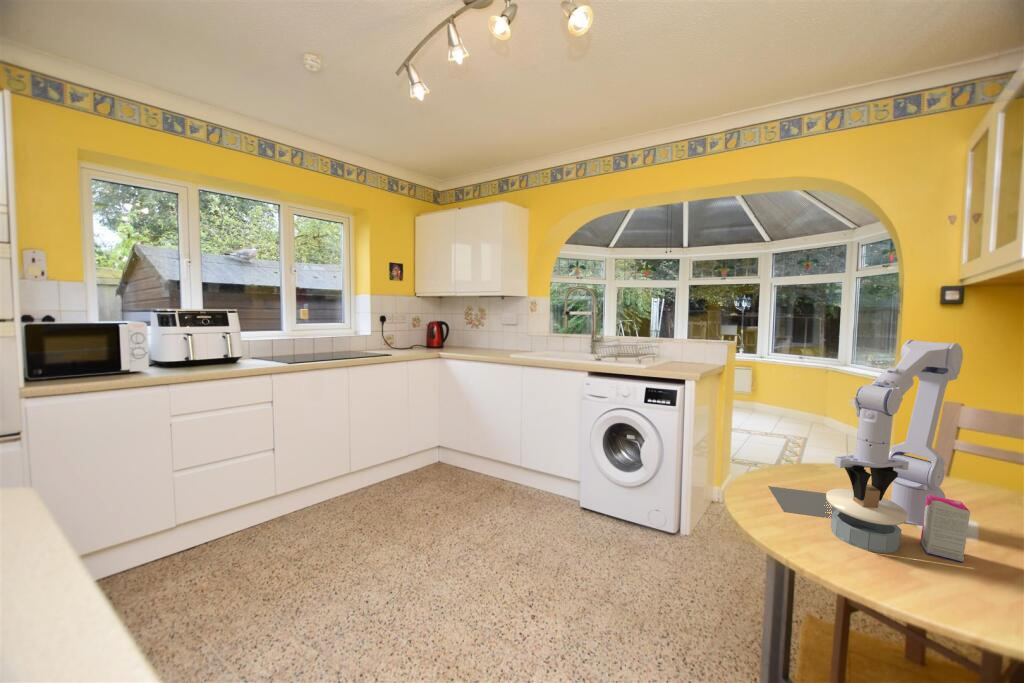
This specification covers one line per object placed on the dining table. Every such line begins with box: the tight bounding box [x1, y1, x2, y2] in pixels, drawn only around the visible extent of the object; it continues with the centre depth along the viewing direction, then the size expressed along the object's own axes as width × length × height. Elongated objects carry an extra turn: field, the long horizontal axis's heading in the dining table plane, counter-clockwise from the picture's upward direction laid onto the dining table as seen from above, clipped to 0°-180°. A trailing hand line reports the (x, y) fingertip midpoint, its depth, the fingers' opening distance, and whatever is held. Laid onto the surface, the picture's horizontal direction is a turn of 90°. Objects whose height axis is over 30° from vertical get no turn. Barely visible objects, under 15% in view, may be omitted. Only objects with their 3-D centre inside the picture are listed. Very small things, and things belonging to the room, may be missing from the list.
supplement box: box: [919, 495, 971, 564], centre depth 95 cm, size 6×6×12 cm
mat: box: [768, 485, 837, 519], centre depth 117 cm, size 16×16×1 cm
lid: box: [825, 483, 908, 526], centre depth 100 cm, size 14×14×5 cm
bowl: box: [830, 510, 903, 555], centre depth 100 cm, size 12×12×4 cm
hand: (867, 498), depth 100 cm, fingers closed on lid, 3 cm apart
